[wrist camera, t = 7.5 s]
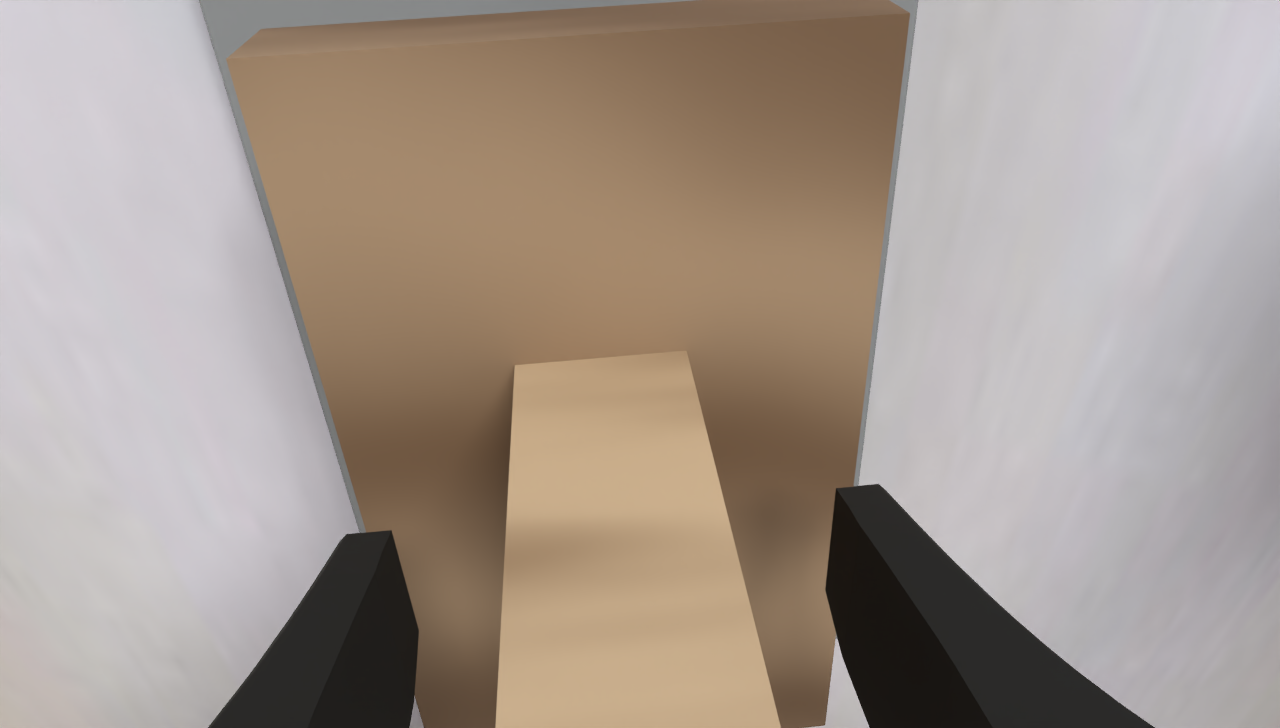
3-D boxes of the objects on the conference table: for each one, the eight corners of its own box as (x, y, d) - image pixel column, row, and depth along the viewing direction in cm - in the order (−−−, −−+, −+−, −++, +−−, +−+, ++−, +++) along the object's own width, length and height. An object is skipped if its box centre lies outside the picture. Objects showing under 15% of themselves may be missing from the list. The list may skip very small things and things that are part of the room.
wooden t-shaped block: (807, 665, 19) (956, 1167, 12) (442, 703, 19) (382, 1244, 12) (871, -11, 12) (1369, 297, 5) (260, 28, 11) (-216, 432, 4)
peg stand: (940, -385, 13) (1096, -452, 9) (829, 609, 25) (878, 753, 22) (120, -349, 13) (-60, -406, 9) (409, 652, 25) (385, 807, 21)
